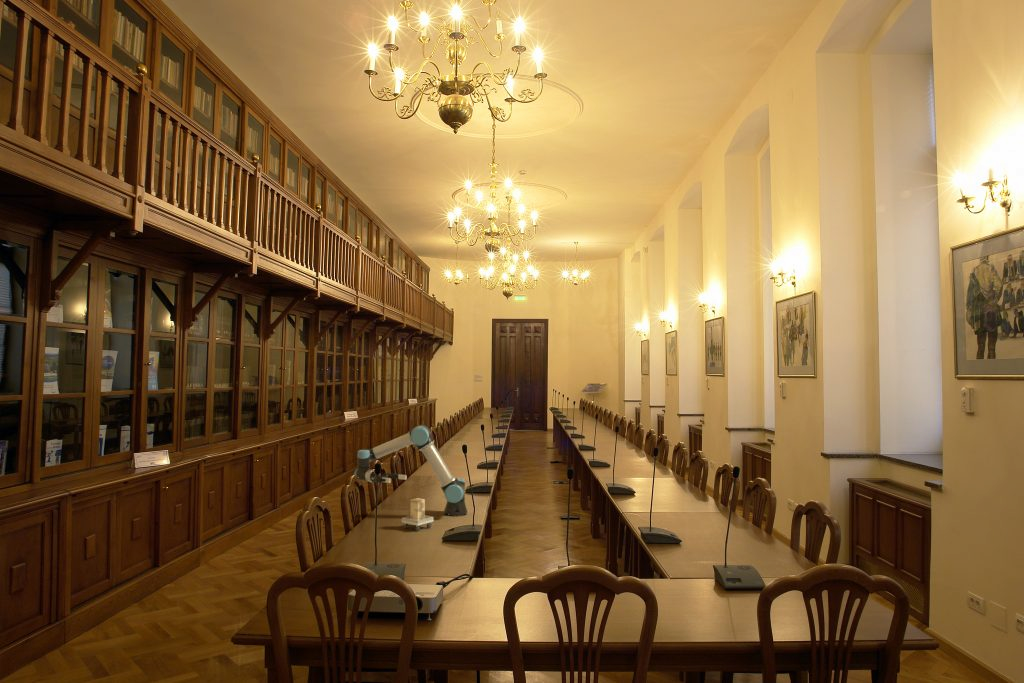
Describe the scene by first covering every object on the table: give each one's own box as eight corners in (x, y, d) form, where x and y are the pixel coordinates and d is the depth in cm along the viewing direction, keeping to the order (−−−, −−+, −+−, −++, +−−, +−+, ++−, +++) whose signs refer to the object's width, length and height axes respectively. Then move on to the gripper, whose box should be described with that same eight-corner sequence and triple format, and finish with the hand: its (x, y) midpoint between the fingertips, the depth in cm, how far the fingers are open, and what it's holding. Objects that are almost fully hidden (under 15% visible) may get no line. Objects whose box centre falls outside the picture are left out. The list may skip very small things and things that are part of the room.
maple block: (417, 518, 399) (417, 498, 400) (424, 519, 395) (425, 499, 396) (410, 520, 394) (410, 499, 395) (417, 521, 391) (417, 500, 391)
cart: (417, 524, 404) (417, 513, 404) (433, 527, 396) (433, 516, 396) (401, 528, 393) (401, 517, 393) (417, 531, 385) (417, 520, 386)
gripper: (388, 479, 428) (412, 482, 415) (358, 485, 407) (383, 488, 395) (388, 467, 428) (412, 470, 416) (358, 472, 408) (383, 475, 395)
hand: (398, 479), depth 405 cm, fingers open, 13 cm apart
